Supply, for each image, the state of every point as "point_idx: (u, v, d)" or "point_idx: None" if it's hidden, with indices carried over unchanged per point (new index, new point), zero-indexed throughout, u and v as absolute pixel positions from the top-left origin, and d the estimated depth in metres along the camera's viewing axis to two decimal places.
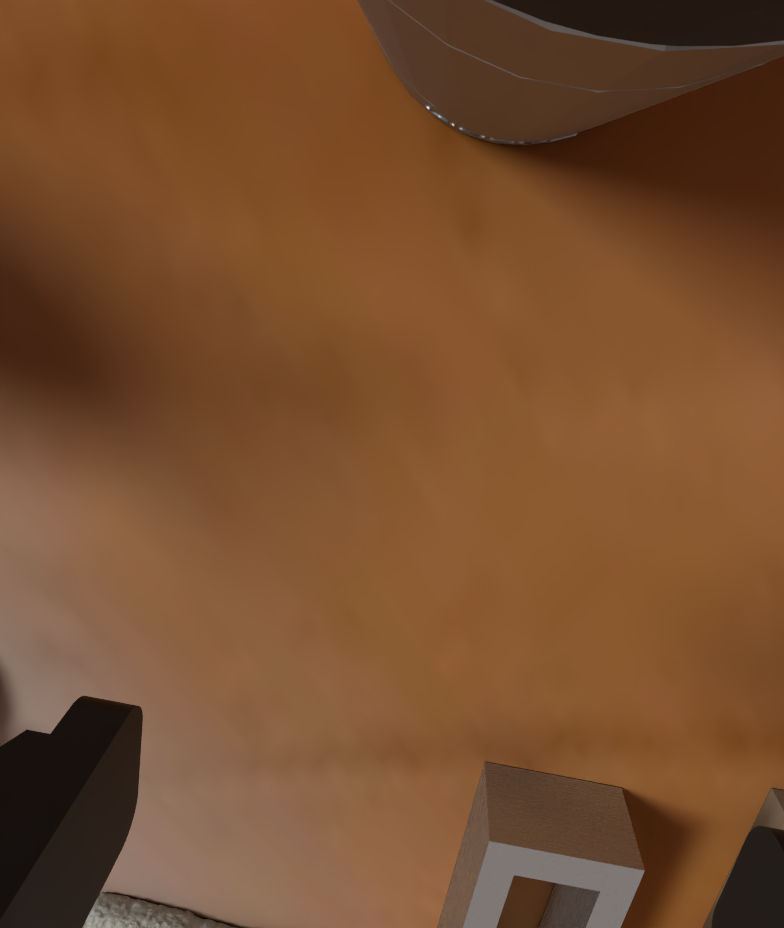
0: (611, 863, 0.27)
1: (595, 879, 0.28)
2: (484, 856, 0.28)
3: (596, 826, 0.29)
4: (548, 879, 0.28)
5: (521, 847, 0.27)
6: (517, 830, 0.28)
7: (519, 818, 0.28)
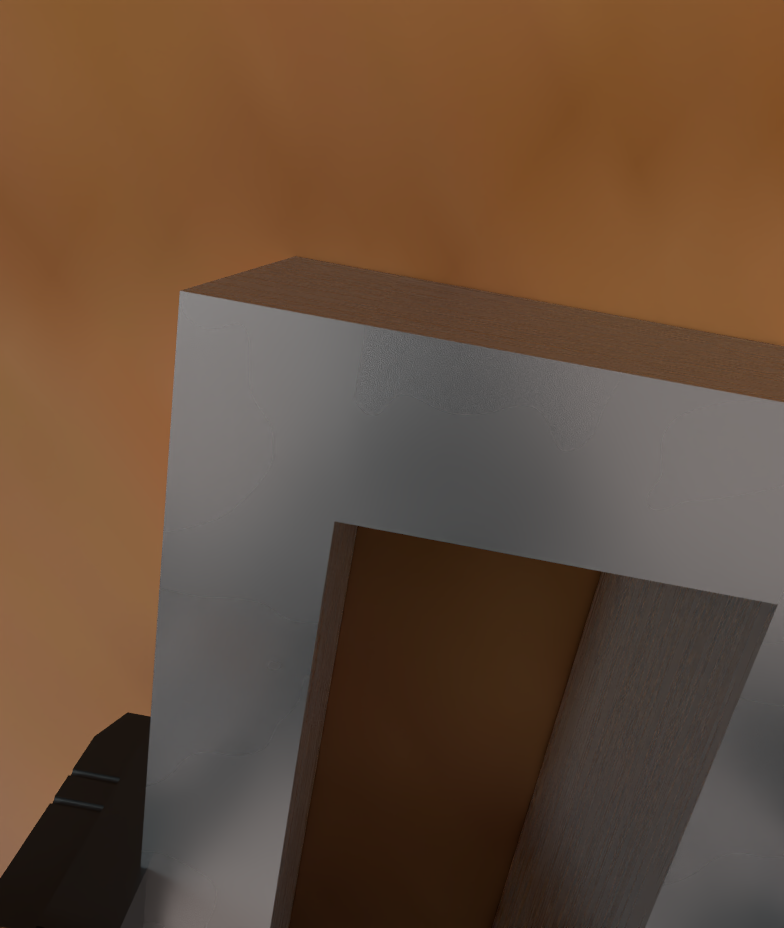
0: None
1: (758, 527, 0.05)
2: (175, 413, 0.05)
3: (728, 360, 0.06)
4: (511, 541, 0.05)
5: (363, 343, 0.05)
6: (356, 307, 0.06)
7: None
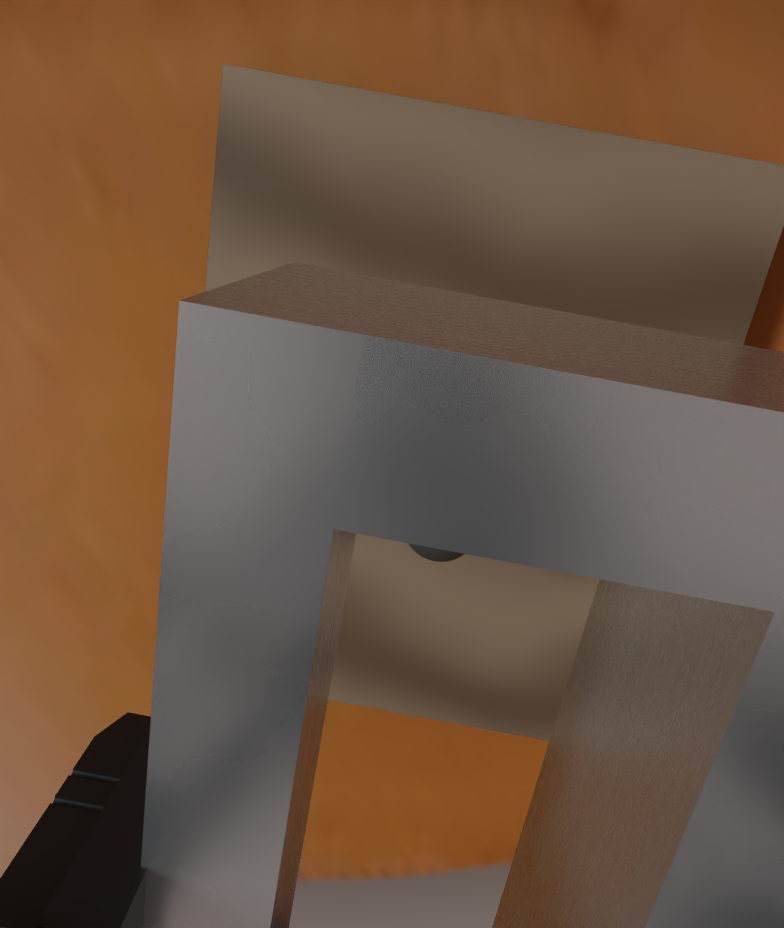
0: None
1: (755, 535, 0.05)
2: (175, 421, 0.05)
3: (726, 368, 0.06)
4: (509, 549, 0.05)
5: (362, 352, 0.05)
6: (355, 315, 0.06)
7: (380, 314, 0.06)
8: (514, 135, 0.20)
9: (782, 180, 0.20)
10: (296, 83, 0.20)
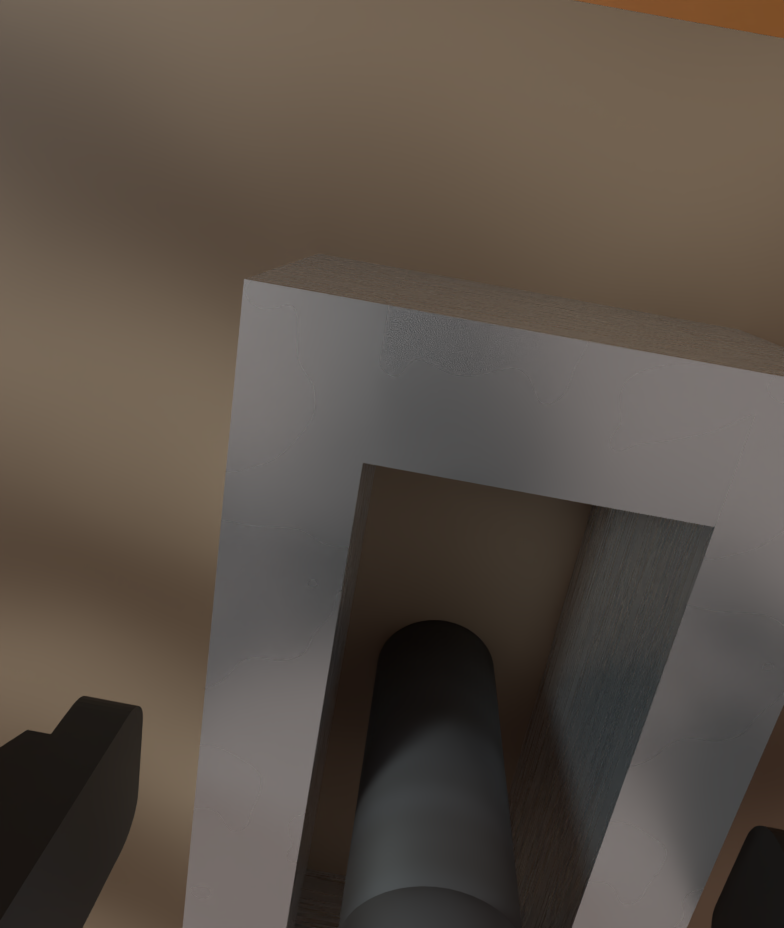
0: (767, 373, 0.06)
1: (697, 464, 0.07)
2: (237, 376, 0.07)
3: (682, 337, 0.08)
4: (503, 477, 0.07)
5: (386, 320, 0.06)
6: (379, 292, 0.07)
7: None
8: (592, 47, 0.09)
9: None
10: None
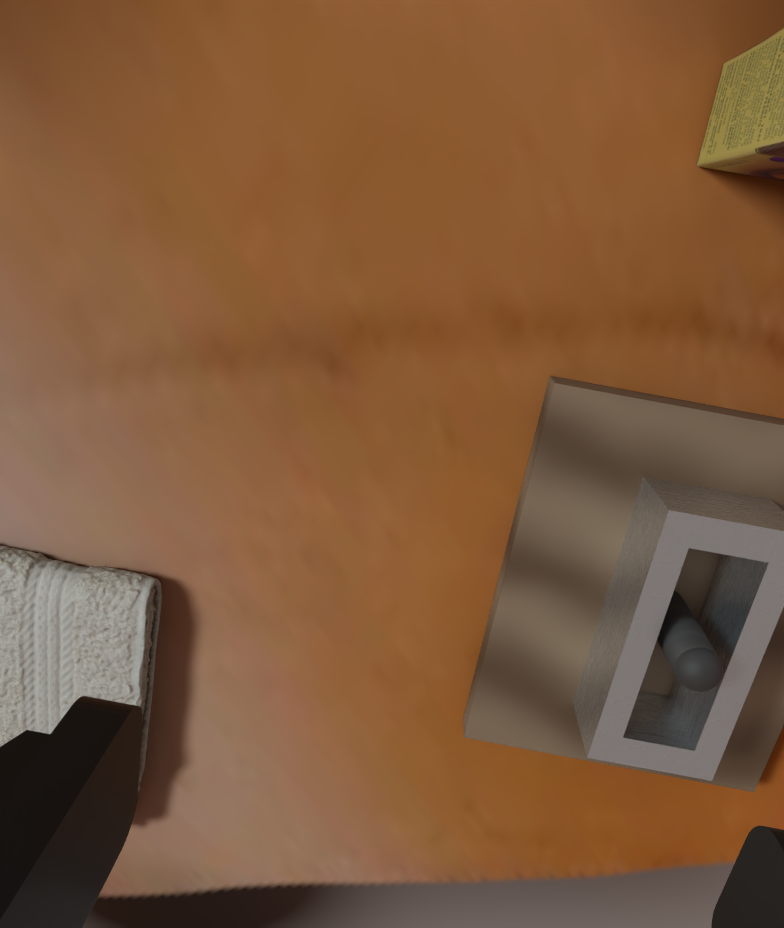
0: (780, 530, 0.29)
1: (765, 549, 0.30)
2: (662, 529, 0.30)
3: (758, 513, 0.31)
4: (720, 551, 0.30)
5: (697, 518, 0.30)
6: (690, 508, 0.30)
7: (689, 504, 0.31)
8: (730, 425, 0.32)
9: None
10: (599, 394, 0.32)
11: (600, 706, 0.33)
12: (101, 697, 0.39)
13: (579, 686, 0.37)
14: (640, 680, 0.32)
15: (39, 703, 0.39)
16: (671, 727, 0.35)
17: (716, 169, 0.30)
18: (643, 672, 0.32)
